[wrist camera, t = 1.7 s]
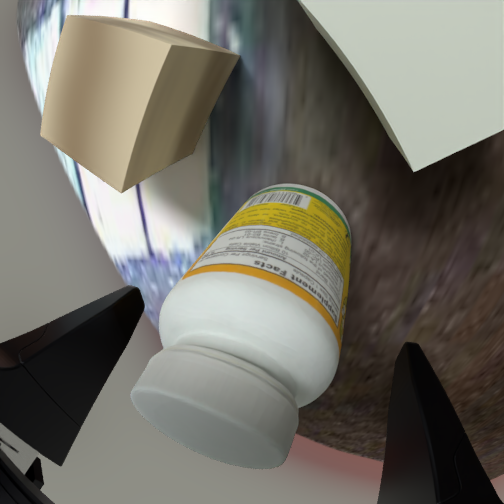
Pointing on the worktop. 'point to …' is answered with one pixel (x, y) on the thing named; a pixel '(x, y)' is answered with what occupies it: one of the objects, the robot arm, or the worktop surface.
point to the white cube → (422, 67)
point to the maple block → (130, 95)
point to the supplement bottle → (252, 330)
